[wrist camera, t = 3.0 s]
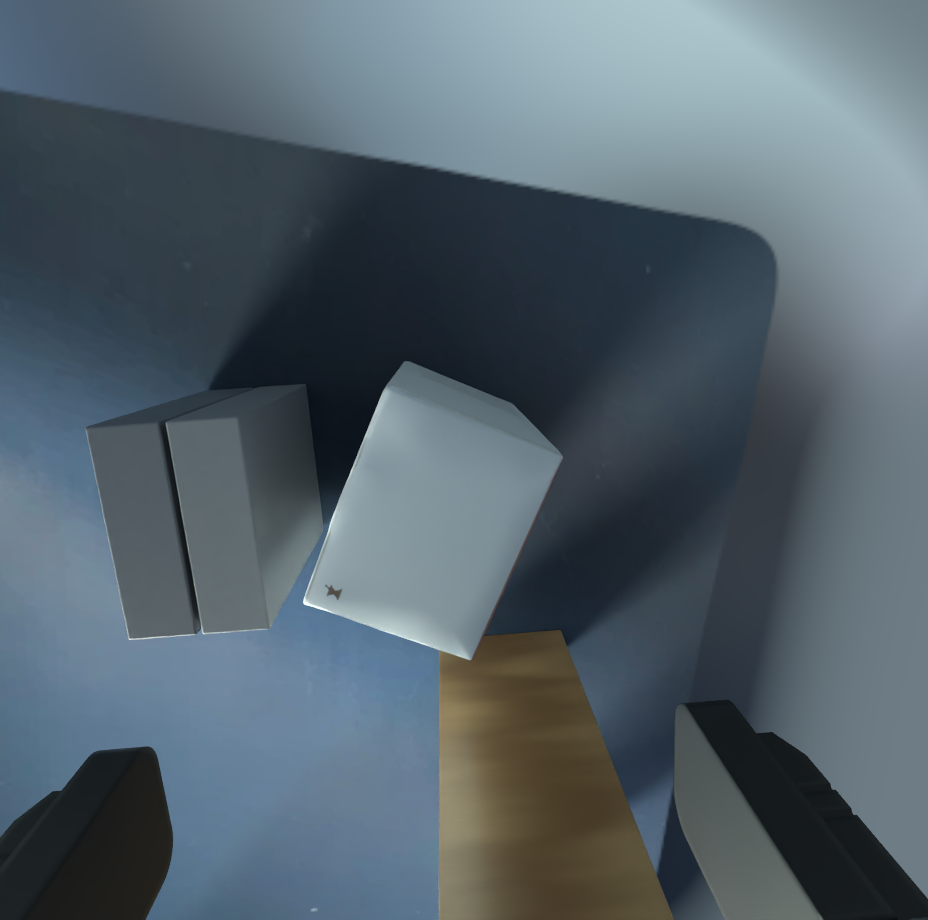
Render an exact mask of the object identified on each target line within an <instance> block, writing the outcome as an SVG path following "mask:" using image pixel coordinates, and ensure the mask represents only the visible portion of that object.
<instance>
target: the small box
mask: <svg viewBox="0 0 928 920" xmlns="http://www.w3.org/2000/svg"><path fill="white" fill-rule="evenodd" d="M562 460H563V456H562V454H561V453H560V452H559V451H558V450H557V449H556V448H555V447H554V446H553V445H552V444H551V443H550V442H549V441H548V440H547V439H546V437H545V436H544V435H543V434H542V433H541V432H540V431H539V430H538V429H537V428H536V427H535V426H534V425H533V424H532V423H531V422H530V421H529V420H528V419H527V418H526V417H525V416H524V415H523V414H522V413H521V412H520V411H519V410H518V409H517V408H516V407H515V406H514V405H513V404H512V403H509V402H507V401H505V400H502V399H500V398H497V397H495V396H492V395H490V394H487V393H485V392H482V391H480V390H478V389H475V388H473V387H470V386H468V385H465V384H463V383H460V382H458V381H456V380H453V379H451V378H448V377H446V376H443V375H441V374H439V373H436V372H434V371H431V370H429V369H426V368H424V367H422V366H419V365H417V364H414V363H412V362H409V361H404V362H403V364H402V365H401V367H400V368H399V369H398V371H397V372H396V373H395V375H394V376H393V377H392V379H391V380H390V381H389V383H388V384H387V386H386V387H385V389H384V390H383V393H382V395H381V397H380V400H379V402H378V405H377V407H376V410H375V412H374V415H373V417H372V420H371V422H370V425H369V427H368V430H367V432H366V435H365V437H364V440H363V442H362V445H361V447H360V450H359V452H358V455H357V457H356V460H355V462H354V465H353V467H352V470H351V472H350V475H349V477H348V480H347V482H346V484H345V487H344V489H343V492H342V494H341V497H340V499H339V502H338V504H337V507H336V510H335V512H334V515H333V517H332V520H331V523H330V527H329V530H328V533H327V536H326V539H325V542H324V545H323V548H322V550H321V553H320V556H319V558H318V561H317V564H316V567H315V569H314V572H313V575H312V577H311V580H310V583H309V586H308V589H307V591H306V594H305V597H304V604H305V605H309V606H312V607H315V608H319V609H322V610H325V611H328V612H331V613H334V614H337V615H339V616H342V617H345V618H348V619H351V620H353V621H356V622H359V623H362V624H365V625H368V626H371V627H374V628H377V629H380V630H382V631H385V632H388V633H391V634H394V635H397V636H400V637H403V638H406V639H409V640H412V641H415V642H418V643H421V644H424V645H427V646H430V647H432V648H435V649H438V650H441V651H444V652H447V653H450V654H454V655H456V656H459V657H462V658H465V659H468V660H472V659H473V658H474V657H475V654H476V652H477V650H478V648H479V646H480V643H481V641H482V639H483V637H484V635H485V632H486V630H487V628H488V626H489V623H490V621H491V619H492V617H493V615H494V612H495V610H496V608H497V606H498V603H499V601H500V599H501V597H502V594H503V592H504V590H505V588H506V586H507V583H508V581H509V579H510V577H511V574H512V572H513V570H514V568H515V566H516V563H517V561H518V559H519V557H520V555H521V552H522V550H523V548H524V546H525V544H526V541H527V539H528V537H529V535H530V532H531V530H532V528H533V525H534V523H535V521H536V519H537V517H538V514H539V512H540V510H541V507H542V505H543V503H544V501H545V498H546V496H547V494H548V492H549V489H550V487H551V485H552V483H553V480H554V478H555V476H556V474H557V472H558V469H559V467H560V465H561V462H562Z"/></svg>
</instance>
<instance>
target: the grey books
mask: <svg viewBox="0 0 928 920" xmlns="http://www.w3.org/2000/svg"><path fill="white" fill-rule="evenodd" d="M86 433H87V438H88V443H89V448H90V453H91V458H92V463H93V467H94V472H95V477H96V482H97V487H98V492H99V497H100V501H101V506H102V511H103V516H104V521H105V526H106V531H107V535H108V540H109V545H110V550H111V555H112V560H113V565H114V569H115V574H116V579H117V584H118V589H119V594H120V599H121V603H122V608H123V613H124V618H125V623H126V628H127V633H128V637H129V640H135V639H148V638H161V637H174V636H186V635H196V634H197V633H198V632H199V630H200V629H201V628H202V632H203V634H212V633H225V632H238V631H251V630H263V629H269V628H270V627H271V625H272V624H273V622H274V620H275V618H276V616H277V614H278V613H279V611H280V609H281V607H282V605H283V603H284V602H285V600H286V598H287V596H288V594H289V593H290V591H291V589H292V587H293V585H294V583H295V582H296V580H297V578H298V576H299V574H300V573H301V571H302V569H303V567H304V565H305V563H306V562H307V560H308V558H309V556H310V554H311V553H312V551H313V549H314V547H315V545H316V543H317V542H318V540H319V538H320V536H321V534H322V533H323V531H324V527H323V519H322V511H321V503H320V494H319V486H318V478H317V470H316V462H315V454H314V445H313V437H312V429H311V421H310V413H309V404H308V396H307V388H306V384H296V385H282V386H267V387H258V388H255V389H253V388H238V389H223V390H209V391H203V392H200V393H197V394H193V395H190V396H187V397H183V398H180V399H177V400H173V401H170V402H167V403H164V404H160V405H157V406H154V407H150V408H147V409H144V410H140V411H137V412H134V413H131V414H127V415H124V416H121V417H117V418H114V419H111V420H107V421H104V422H101V423H98V424H94V425H91V426H88V427H86Z"/></svg>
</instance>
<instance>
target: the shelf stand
mask: <svg viewBox="0 0 928 920" xmlns="http://www.w3.org/2000/svg"><path fill="white" fill-rule="evenodd" d="M439 920H674V919H673V916H672V914H671V911H670V909H669V906H668V904H667V901H666V899H665V896H664V894H663V891H662V888H661V886H660V883H659V881H658V878H657V875H656V873H655V870H654V868H653V865H652V863H651V860H650V858H649V855H648V852H647V850H646V847H645V845H644V842H643V840H642V837H641V835H640V832H639V829H638V827H637V824H636V822H635V819H634V817H633V814H632V811H631V809H630V806H629V804H628V801H627V799H626V796H625V794H624V791H623V788H622V786H621V783H620V781H619V778H618V776H617V773H616V771H615V768H614V765H613V763H612V760H611V758H610V755H609V753H608V750H607V748H606V745H605V742H604V740H603V737H602V735H601V732H600V730H599V727H598V724H597V722H596V719H595V717H594V714H593V712H592V709H591V707H590V704H589V701H588V699H587V696H586V694H585V691H584V689H583V686H582V684H581V681H580V678H579V676H578V673H577V671H576V668H575V666H574V663H573V661H572V658H571V655H570V653H569V650H568V648H567V645H566V643H565V640H564V638H563V635H562V632H561V630H553V631H540V632H527V633H515V634H502V635H489V636H484V637H483V639H482V641H481V643H480V646H479V648H478V650H477V652H476V654H475V657H474V658H473V659H472V660H468V659H465V658H462V657H459V656H456V655H454V654H450V653H447V652H444V651H441V650H439Z"/></svg>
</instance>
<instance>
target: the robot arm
mask: <svg viewBox="0 0 928 920" xmlns="http://www.w3.org/2000/svg"><path fill="white" fill-rule="evenodd" d="M674 794H675V802H676V808H677V812H678V816H679V820H680V823H681V827H682V829H683V832H684V835H685V837H686V839H687V841H688V843H689V845H690V847H691V849H692V851H693V853H694V855H695V858H696V860H697V862H698V864H699V866H700V868H701V870H702V872H703V874H704V877H705V879H706V881H707V883H708V885H709V887H710V889H711V891H712V893H713V895H714V897H715V900H716V902H717V904H718V906H719V908H720V910H721V912H722V914H723V916H724V918H725V920H928V899H927V897H926V896H925V895H924V894H923V893H922V892H921V890H920V889H919V888H918V887H917V886H916V884H915V883H914V882H913V881H912V880H911V878H910V877H909V876H908V875H907V874H906V873H905V872H904V870H903V869H902V868H901V867H900V865H899V864H898V863H897V862H896V861H895V860H894V858H893V857H892V856H891V855H890V854H889V853H888V851H887V850H886V849H885V848H884V847H883V845H882V844H881V843H880V842H879V841H878V840H877V838H876V837H875V836H874V835H873V834H872V832H871V831H870V830H869V829H868V828H867V826H866V825H865V824H864V823H863V822H862V821H861V819H860V818H859V817H858V816H857V815H853V813H852V811H851V808H850V806H849V805H848V804H847V803H846V802H845V800H844V799H843V798H842V797H841V796H840V795H839V794H838V792H837V791H836V790H832V789H831V785H830V783H829V782H828V780H827V779H826V778H825V777H824V776H823V774H822V773H821V772H820V771H819V770H818V769H817V767H816V766H815V765H814V764H813V763H812V762H811V760H810V759H809V758H808V757H807V756H806V755H805V754H804V753H802V752H801V751H799V750H798V749H796V748H795V747H793V746H792V745H790V744H789V743H787V742H786V741H784V740H783V739H781V738H780V737H778V736H777V735H775V734H774V733H773V732H769V733H756V732H755V731H754V730H753V728H752V727H751V726H750V725H749V723H748V722H747V721H746V719H745V718H744V717H743V715H742V714H741V713H740V712H739V710H738V709H737V708H736V706H735V705H734V704H733V703H732V702H731V701H729V700H718V701H706V702H694V703H682V704H679V705H678V706H677V708H676V713H675V760H674ZM172 848H173V832H172V826H171V821H170V816H169V811H168V806H167V801H166V797H165V792H164V787H163V782H162V777H161V772H160V767H159V762H158V758H157V755H156V753H155V751H154V750H153V749H152V748H151V747H136V748H124V749H112V750H100V751H96V752H94V753H93V754H91V755H90V756H89V757H88V758H87V760H86V761H85V762H84V763H83V765H82V766H81V767H80V768H79V770H78V771H77V772H76V773H75V775H74V776H73V777H72V778H71V780H70V781H69V782H68V783H67V785H66V786H65V787H64V788H63V790H62V791H53V792H51V793H50V794H49V795H48V796H46V797H45V798H44V799H42V800H41V801H40V802H38V803H37V804H36V805H35V806H33V807H32V808H31V809H29V810H28V811H27V812H25V813H24V814H23V815H22V816H20V817H19V818H18V819H16V820H15V821H14V822H13V823H12V824H11V826H10V827H9V828H8V829H7V830H6V831H5V833H4V834H3V835H2V836H1V837H0V920H145V919H146V917H147V915H148V913H149V911H150V909H151V907H152V905H153V903H154V901H155V899H156V897H157V895H158V893H159V891H160V889H161V887H162V885H163V883H164V880H165V878H166V875H167V872H168V869H169V865H170V861H171V856H172Z"/></svg>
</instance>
